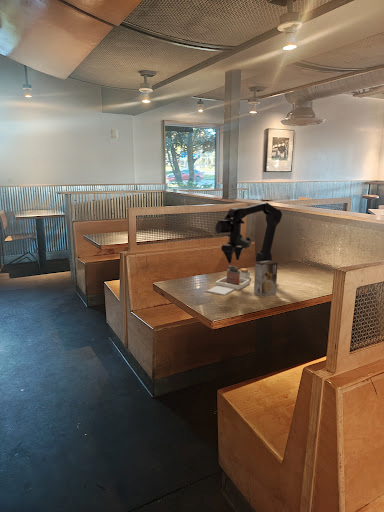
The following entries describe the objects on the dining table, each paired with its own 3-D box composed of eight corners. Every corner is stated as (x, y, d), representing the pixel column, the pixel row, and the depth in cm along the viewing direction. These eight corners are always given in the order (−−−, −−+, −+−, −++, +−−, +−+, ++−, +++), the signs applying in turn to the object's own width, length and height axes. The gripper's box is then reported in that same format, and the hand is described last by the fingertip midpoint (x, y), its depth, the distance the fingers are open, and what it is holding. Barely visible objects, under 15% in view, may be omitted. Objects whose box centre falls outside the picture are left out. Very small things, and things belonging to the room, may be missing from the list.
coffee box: (267, 290, 184) (269, 259, 181) (276, 294, 179) (278, 262, 175) (253, 293, 180) (254, 261, 176) (261, 296, 174) (263, 264, 171)
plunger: (249, 276, 204) (249, 269, 203) (246, 278, 200) (246, 270, 199) (242, 275, 206) (242, 267, 205) (238, 277, 202) (239, 269, 201)
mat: (233, 290, 184) (233, 289, 184) (224, 295, 176) (224, 294, 175) (216, 286, 189) (216, 285, 189) (206, 291, 181) (206, 290, 181)
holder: (255, 279, 203) (256, 272, 202) (238, 289, 185) (239, 281, 184) (233, 275, 210) (234, 268, 209) (215, 285, 192) (215, 277, 191)
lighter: (240, 285, 192) (241, 267, 190) (237, 286, 190) (237, 268, 188) (228, 282, 198) (229, 264, 196) (224, 283, 195) (225, 265, 193)
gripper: (241, 236, 176) (240, 267, 179) (256, 231, 191) (255, 260, 195) (221, 234, 182) (220, 264, 185) (237, 229, 197) (236, 257, 200)
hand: (233, 261), depth 191 cm, fingers open, 9 cm apart
